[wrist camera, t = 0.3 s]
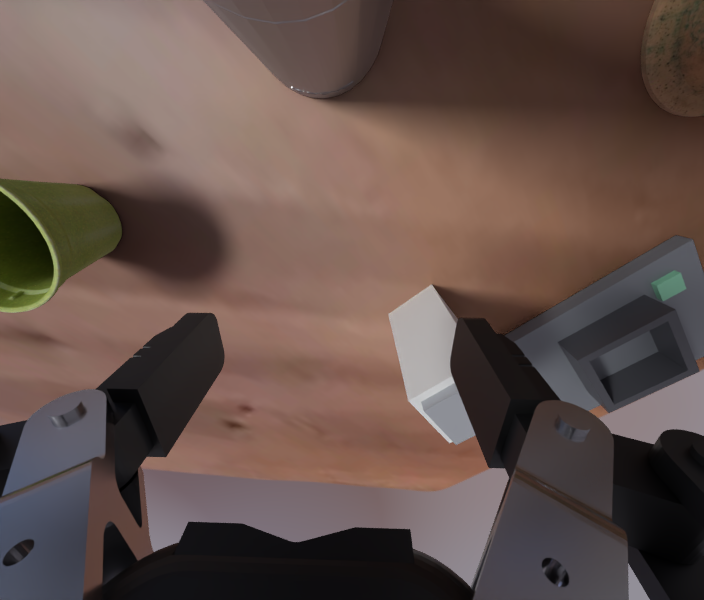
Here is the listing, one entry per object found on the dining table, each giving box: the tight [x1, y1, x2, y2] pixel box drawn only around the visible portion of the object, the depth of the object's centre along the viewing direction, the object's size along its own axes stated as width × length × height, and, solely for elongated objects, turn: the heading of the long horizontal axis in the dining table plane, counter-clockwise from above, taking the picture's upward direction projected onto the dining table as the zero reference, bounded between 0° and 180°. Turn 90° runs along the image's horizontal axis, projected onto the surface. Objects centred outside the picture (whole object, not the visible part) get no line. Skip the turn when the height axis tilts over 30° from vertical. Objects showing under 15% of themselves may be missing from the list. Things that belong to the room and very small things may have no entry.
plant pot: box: [0, 179, 122, 313], centre depth 23 cm, size 9×9×9 cm
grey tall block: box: [389, 285, 475, 445], centre depth 25 cm, size 5×5×13 cm
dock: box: [504, 235, 704, 413], centre depth 30 cm, size 18×14×4 cm
